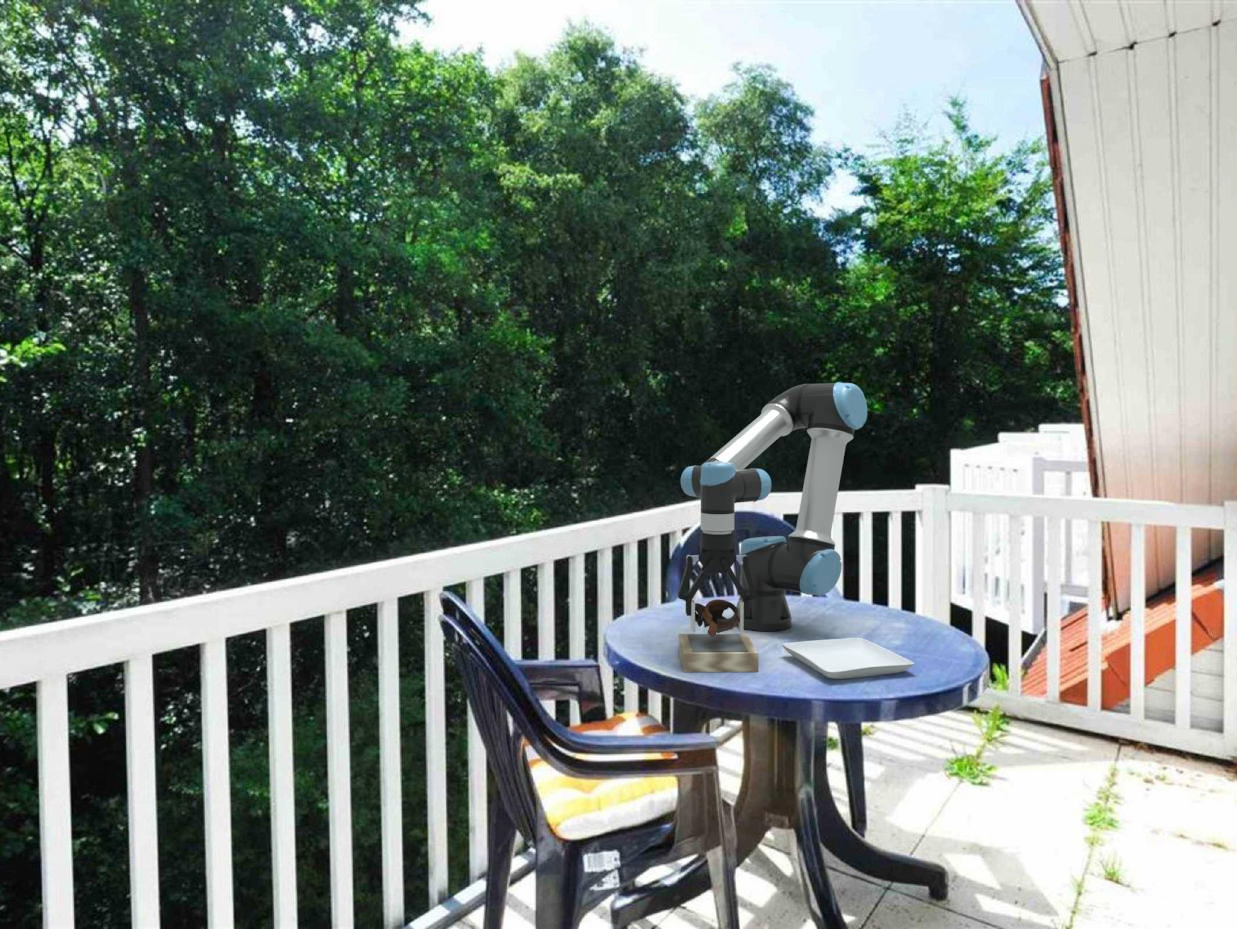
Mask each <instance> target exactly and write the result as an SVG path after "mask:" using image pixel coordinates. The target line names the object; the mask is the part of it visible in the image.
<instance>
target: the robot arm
mask: <svg viewBox="0 0 1237 929" xmlns="http://www.w3.org/2000/svg"><path fill="white" fill-rule="evenodd" d="M867 419H868V404H867V400H866V397H865V395H864V392H863V391H862V389H861V388H860V387H859V386H858V385H856V384H854V383H852V382H851V383H850V382H839V381H838V382H831V383H830V382H829V383H828V382H827V383H803V384H799V385H796V386H793V387H791V388H789V389H787V390H786V391H784V392H782V393H781V394H779V395H776V397H775V398H773V399H772V400H770V401H769V402H767V404H765V405H764V407H762V410H761V411H760V415H759V416H758V417H757V418H755V419H754V420H753V421H752V422H751V423H750V424H748V425H747V426H746V427H744V428H743V429H742V430H741V431H740V432H739V433H737V434H736V436H735V435H734V437H733V438H732V439H730V440H729V441H728V442H727V443H726V444H725V445H723V446H722V447H721V448H720V449H719V450H717V452H715V453H714V454H712V456H711V457H710V458H708V459H707V460H706V461H705V462H704V463H702V464H701V465H691V466H687V467H686V468H685V469H683V472H682V474H681V476H680V485H681V489H682V491H683V492H684V494H686V495H687V496H689V497H695V498H698V499H700V530H701V533H700V535H699V539H700V540H699V541H700V544H699V545H700V546H699V548H700V549H699V553H698V554H697V555H696V554H695V555H694V554H693V555H691V554H687V555H686V557H685V559H686V565H685V568H684V572H683V575H682V578H681V582H680V585H679V587H678V591H677V597H678V599H679V600H682V601H684V602H685V615H686V616H687V617H690V618H689V620H690V621H689V622H690V626H689V627H690V629H689V630H690V631H691V632H696V621H695V603H696V602H695V599H694V597H695V595H696V594H697V592H698V590H699V589H700V587H701V585H702V584H703V582H704V581H705V579H706V578H707V577H708V575H709V574H711V575H712V574H713V575H714V574H721V575H723V574H724V575H725V574H727V575H728V577H729V578H730V580H731V582H732V584H733V586H734V587H735V588H736V590H737V592H738V594H739V598H738V600H737V603H736V605H735V606H736V608H737V611H738V616H739V619H740V622H738V624H737V625H736V626H735V627H738V631H739V632H744V629H745V630H751V631H758V632H774V631H776V632H777V631H782V630H783V631H784V630H786V629H789V628H790V627H792V626H793V625H792V624H793V623H792V622H793V619H792V617H793V616H792V614H791V611H790V607H789V604H788V601H787V598H786V591H791V592H797V593H801V594H805V595H809V596H810V595H811V596H812V595H813V596H814V595H815V596H824V595H826V594H828V593H830V592H831V591H832V589H834V588H835V586H836V585H837V583H838V582H839V579H840V577H841V573H842V566H843V565H842V561H841V560H842V559H841V555H840V553H839V552H838V551H836V550H835V549H836V543H835V541H834V540H833V538H832V537H831V534H832V530H833V522H834V518H835V512H836V511H835V510H836V504H837V499H838V493H839V487H840V482H841V481H840V480H841V477H842V476H841V475H842V470H843V469H842V468H843V465H844V456H845V452H846V447H847V444H848V443H849V442H851V441H852V440H853V439H854V436H855V430H859V429H861V428H862V427H863V426H864V425H865V424H866V421H867ZM799 429H806V432H807V434H808V435H809V436H810V438H811V441H810V448H809V452H808V459H807V465H806V469H805V471H806V472H805V475H804V476H805V477H804V481H803V488H802V492H801V499H800V503H799V510H798V516H797V522H796V528H795V530H794V531H793V532H792V533H790V534H788V539H787V540H786V537H785V536H782V535H773V536H768V535H767V536H760V537H758V536H757V537H750V538H747V539H743V541H742V542H741V544H740V554H736V553H735V552H736V551H735V533H733V531H734V530H735V504H737V503H749V502H750V503H751V502H753V503H755V502H758V501H762V500H764V499H766V498H767V497H768V496H769V495H770V493H771V490H772V480H771V477H770V475H769V474H768V472H766V471H765V470H764V469H761V468H747V467H748V466H749V464H751V463H752V462H753V461H754V460H755V459H757V458H758V457H759V456H760V455H761V454H762V453H763V452H764V451H766V449H768V448H770V446H771V445H772V444H773V443H774V442H776V440H778V439H779V438H780V437H785V436H788V435H789V434H791V432H793V431H795V430H799ZM698 561H699V563H700V564H701V565H702V567H701V569H700V571H699V573H698V575H697V576H696V578H695V580H694V581H693V583H692V585H691V586H690V588H689V590H688V591H687V588H688V584H689V581H690V578H691V575H692V572H693V568H694V566H696V564H697V562H698ZM736 561H737V563H738V564H739V566H740V567H739V568H740V569H739V571H740V573H739V574H740V575H739V576H740V577H739V578H740V579H739V580H740V581H739V580H738V577H737V576H736V574H735V573H734V571H733V570H732V566H733V565H734V564H735V562H736ZM686 591H687V592H686Z"/></svg>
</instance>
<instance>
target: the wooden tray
mask: <svg viewBox="0 0 1237 929" xmlns="http://www.w3.org/2000/svg"><path fill="white" fill-rule="evenodd" d="M677 643H678V646H677V647H678V654H679V658H680V661H681V666H682V669H683V672H684V673H717V672H718V673H731V672H732V673H733V672H734V673H735V672H736V673H737V672H738V673H748V672H749V673H750V672H755V673H758V672H759V662H760V661H759V656H760V655H759V652H758V650H757V648H756V646H755V645H754V644H753V643H754V642H752V640H751V639H750V637H749V635H748V634H747V633H716V635H715V636H714V637H712V636H710V635H709V634H708V633H678V642H677Z"/></svg>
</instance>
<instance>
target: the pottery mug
mask: <svg viewBox="0 0 1237 929" xmlns="http://www.w3.org/2000/svg"><path fill="white" fill-rule="evenodd" d="M736 606H737V605H735V604H734V603H732V602H731V601H728V600H724V599H719V598H718V599H711V600H710V601H708V602H707V603H706V605H703V604H702V603H698V602H695V623H696V624H697V626H698V627H701V626H703V628H704V629H705V628H708V629H707V634H709V635H710V636H712V637H714V636H715V635H716V634H721V633H724V632H728V631H731V630H733V629H734V628H735V627H737V626H736V625H737V624H738V622H740V619H739V616H738V611H737V608H736ZM728 609H730V610H731V611H732V612H733V615H732V616H731V617H729V618H727V617H725V616H723V614H724V611H726V610H728Z"/></svg>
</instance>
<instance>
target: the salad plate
mask: <svg viewBox="0 0 1237 929" xmlns="http://www.w3.org/2000/svg"><path fill="white" fill-rule="evenodd" d="M781 646H782V647H783V649H784V650H785V651H786V652H787V653H788V654H790V656H792V657H794V658H795V659H797V660H799V661H800V662H802V663H804V665H807V666H808V667H810V668H812V669H813V670H815V671H816V672H818V673H821V674H822V675H823V676H825V677H826V678H828V679H832V680H845V679H855V678H856V679H857V678H865V677H876V676H884V675H891V674H897V673H898V674H899V673H902V672H905V671H908V670H909V669H911V668H912V667H913V666H915V662H913V661H911V660H910V659H908V658H905V657H904V656H902V655H899V654H897V653H895V652H893V651H891V650H889V649H887V648H885V647H883V646H881V645H879V644H877V643H874V642H873V641H869V640H867V639H865V638H861V637H849V638H847V637H845V638H832V639H819V640H818V639H817V640H805V641H796V642H784V643H783V642H782V644H781Z"/></svg>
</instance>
